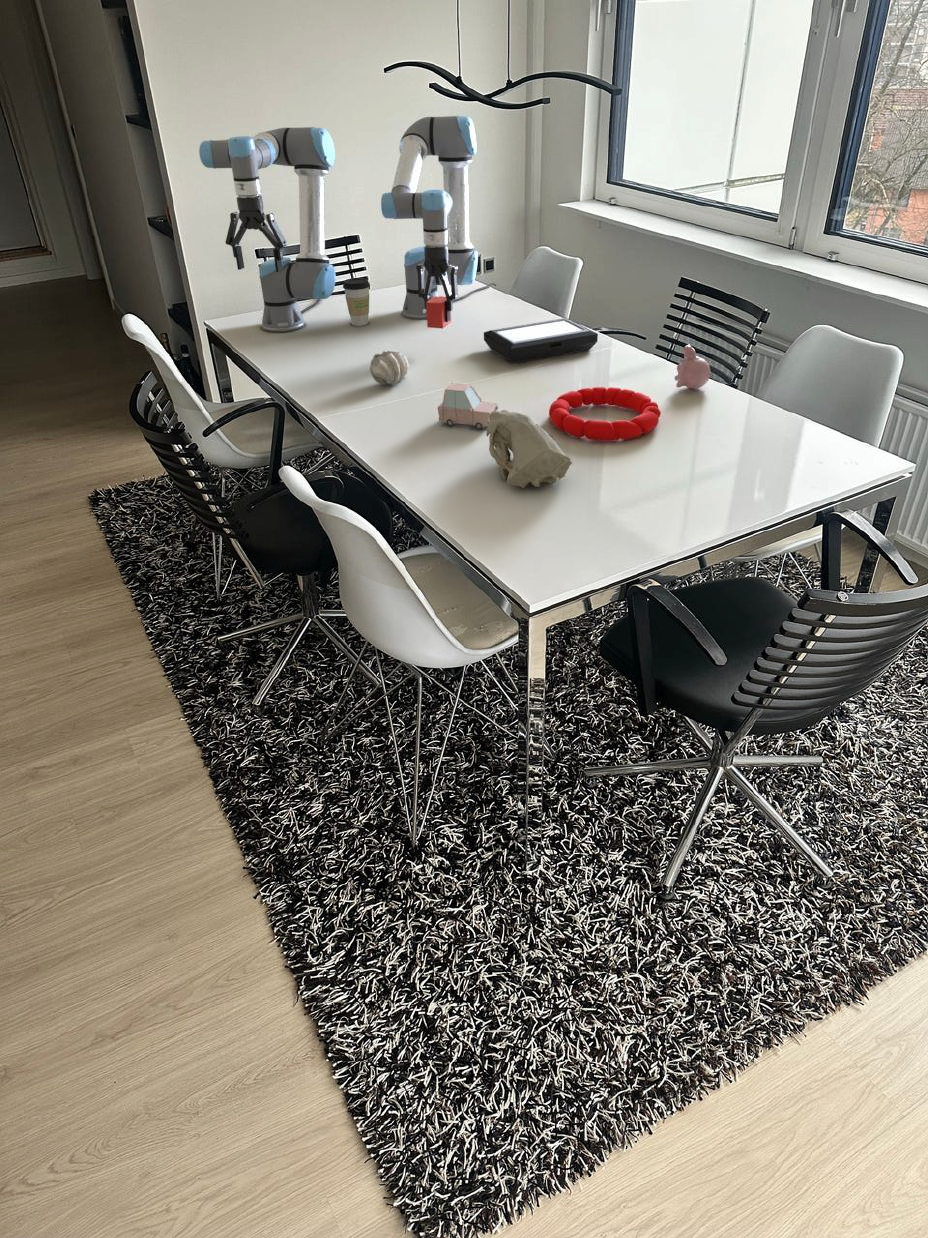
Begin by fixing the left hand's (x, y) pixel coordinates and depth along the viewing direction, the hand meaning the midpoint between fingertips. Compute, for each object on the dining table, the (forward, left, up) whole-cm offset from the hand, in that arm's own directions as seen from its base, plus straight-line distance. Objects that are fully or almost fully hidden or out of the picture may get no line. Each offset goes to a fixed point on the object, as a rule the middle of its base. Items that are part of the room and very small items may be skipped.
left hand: (260, 269), depth 278 cm
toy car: (+68, +53, -29) cm, 91 cm away
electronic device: (+11, +88, -29) cm, 93 cm away
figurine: (+58, +121, -29) cm, 138 cm away
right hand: (+4, +55, -18) cm, 58 cm away
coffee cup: (-35, +31, -29) cm, 56 cm away
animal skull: (+101, +60, -29) cm, 121 cm away
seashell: (+31, +36, -29) cm, 56 cm away
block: (+4, +55, -20) cm, 59 cm away
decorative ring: (+76, +89, -29) cm, 121 cm away
